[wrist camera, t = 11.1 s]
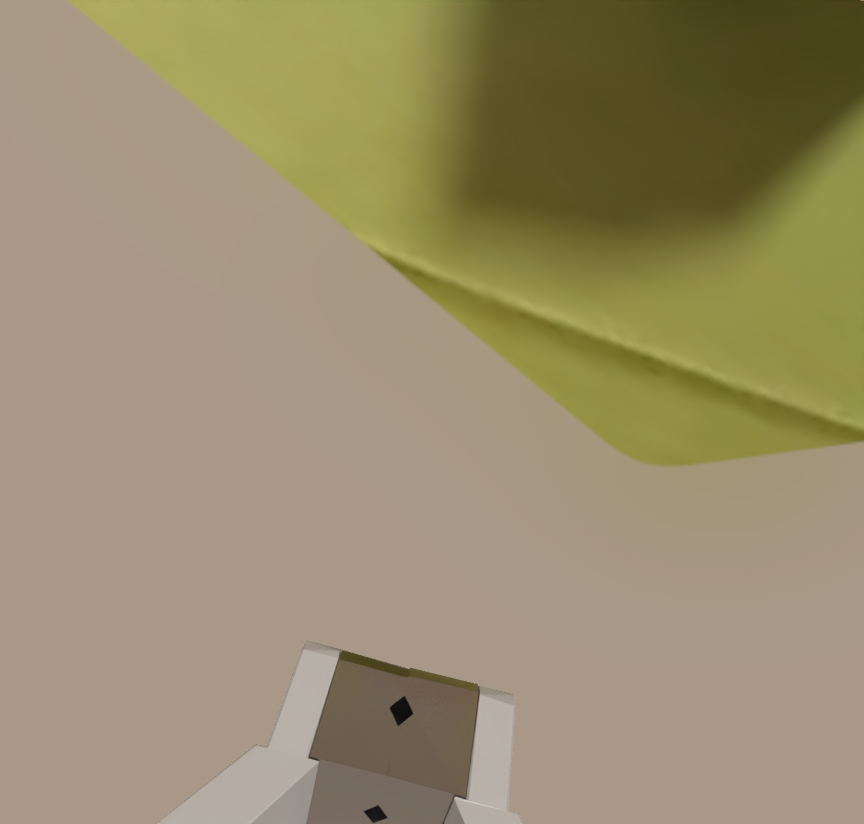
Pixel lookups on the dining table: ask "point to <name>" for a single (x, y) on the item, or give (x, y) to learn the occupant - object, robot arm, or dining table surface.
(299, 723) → the robot arm
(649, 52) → the dining table surface
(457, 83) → the dining table surface
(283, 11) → the dining table surface
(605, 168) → the dining table surface
